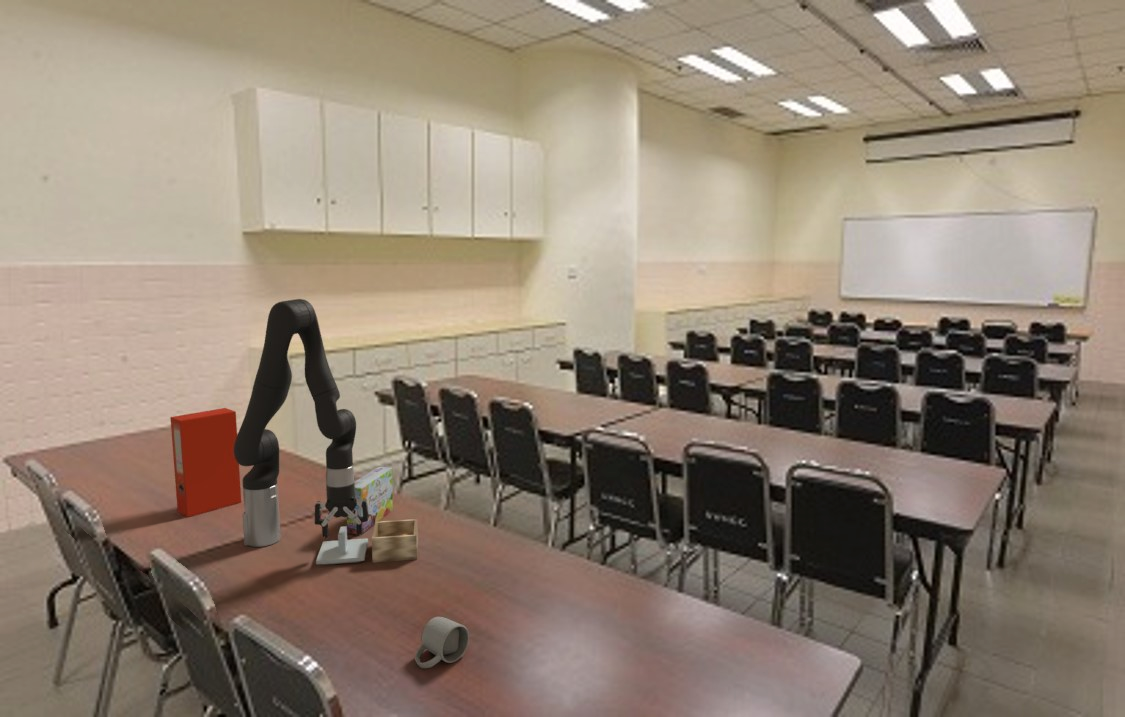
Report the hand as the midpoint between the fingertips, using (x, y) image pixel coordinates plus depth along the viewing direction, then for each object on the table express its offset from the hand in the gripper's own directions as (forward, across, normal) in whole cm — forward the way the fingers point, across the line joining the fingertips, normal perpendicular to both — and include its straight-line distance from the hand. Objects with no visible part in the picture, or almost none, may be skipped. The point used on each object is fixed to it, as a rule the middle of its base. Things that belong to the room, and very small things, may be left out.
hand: (342, 536), depth 189 cm
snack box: (+6, +6, +24) cm, 25 cm away
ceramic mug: (+6, +27, -54) cm, 60 cm away
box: (+6, +14, 0) cm, 16 cm away
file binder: (+6, -48, +45) cm, 66 cm away
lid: (+6, 0, 0) cm, 6 cm away
